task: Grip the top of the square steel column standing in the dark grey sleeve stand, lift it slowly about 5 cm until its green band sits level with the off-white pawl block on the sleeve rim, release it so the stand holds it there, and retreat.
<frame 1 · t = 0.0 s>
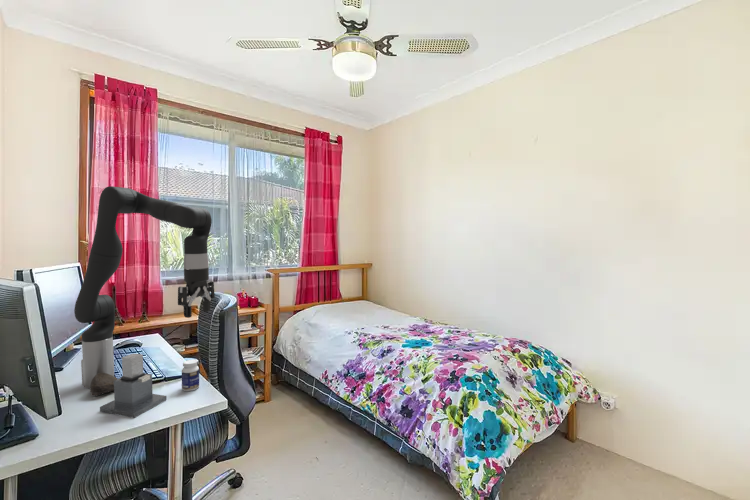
hand: (197, 314, 123), 29 cm above the table, tool pointing down, fingers open, 8 cm apart
stone: (105, 393, 130), on the table
stand: (134, 405, 120), on the table
pill bottle: (190, 388, 133), on the table
column: (133, 378, 119), point 9 cm above the table, slide at 0.0 cm
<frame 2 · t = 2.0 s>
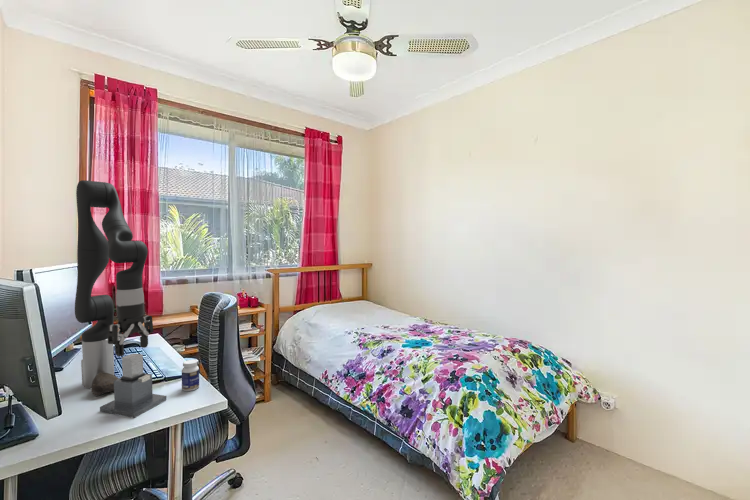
hand: (132, 351, 119), 18 cm above the table, tool pointing down, fingers open, 8 cm apart
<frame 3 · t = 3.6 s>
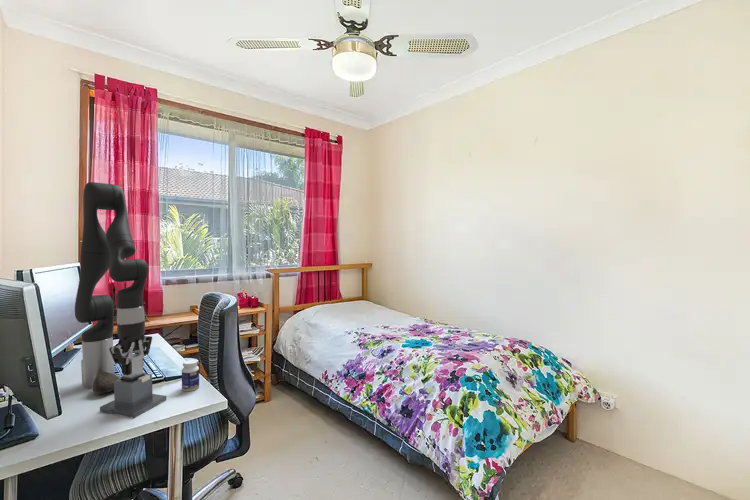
hand: (132, 371, 119), 11 cm above the table, tool pointing down, fingers closed on column, 4 cm apart
column: (133, 378, 119), point 9 cm above the table, slide at 0.0 cm, touching gripper
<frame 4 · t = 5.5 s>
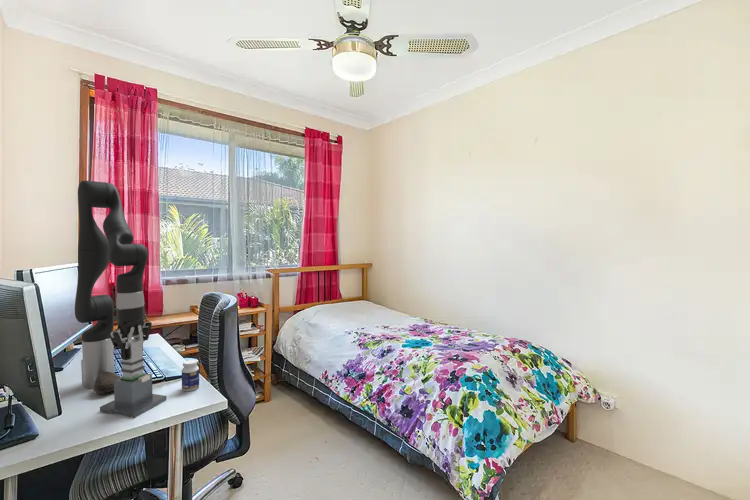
hand: (132, 356, 119), 16 cm above the table, tool pointing down, fingers closed on column, 4 cm apart
column: (132, 363, 119), point 14 cm above the table, slide at 4.9 cm, touching gripper
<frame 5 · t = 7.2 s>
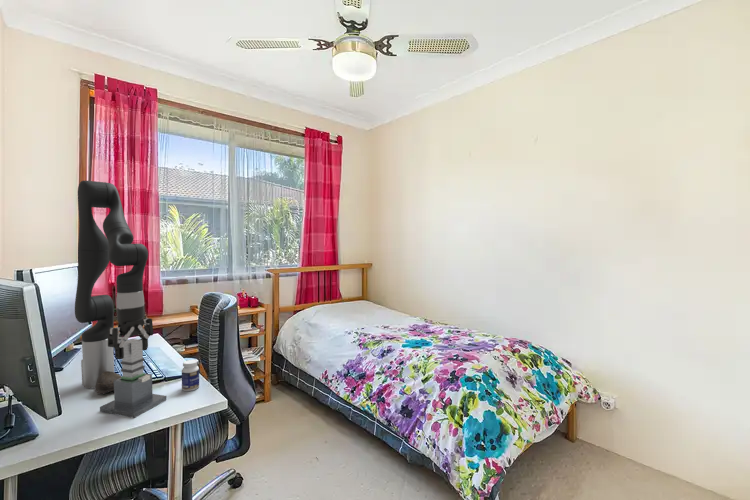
hand: (132, 354, 119), 17 cm above the table, tool pointing down, fingers open, 8 cm apart
column: (132, 363, 119), point 14 cm above the table, slide at 5.0 cm
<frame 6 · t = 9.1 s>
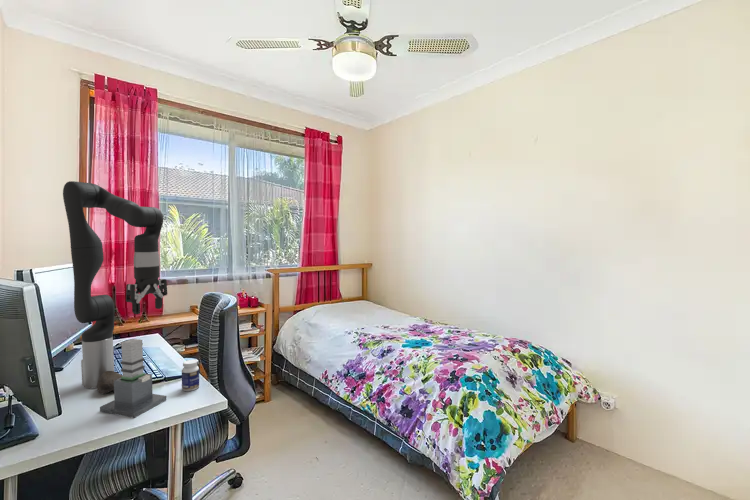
hand: (148, 311, 126), 30 cm above the table, tool pointing down, fingers open, 8 cm apart
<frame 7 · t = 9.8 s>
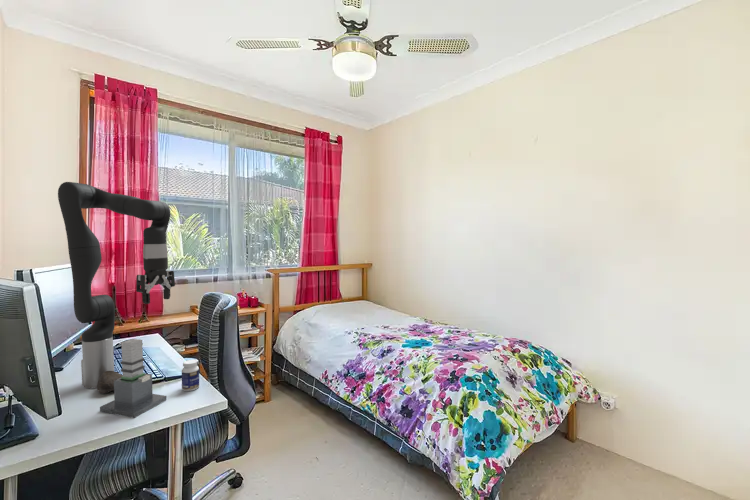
hand: (156, 301, 131), 32 cm above the table, tool pointing down, fingers open, 8 cm apart
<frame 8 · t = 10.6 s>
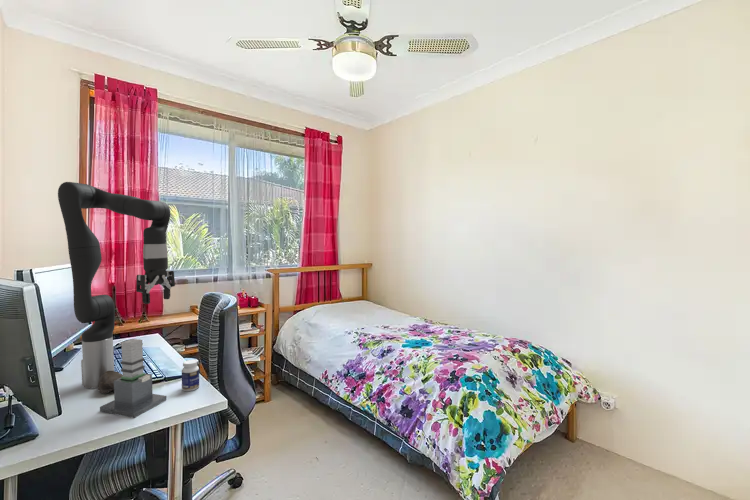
hand: (157, 301, 131), 32 cm above the table, tool pointing down, fingers open, 8 cm apart
at the end: column slide at 5.0 cm; the gripper is holding nothing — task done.
